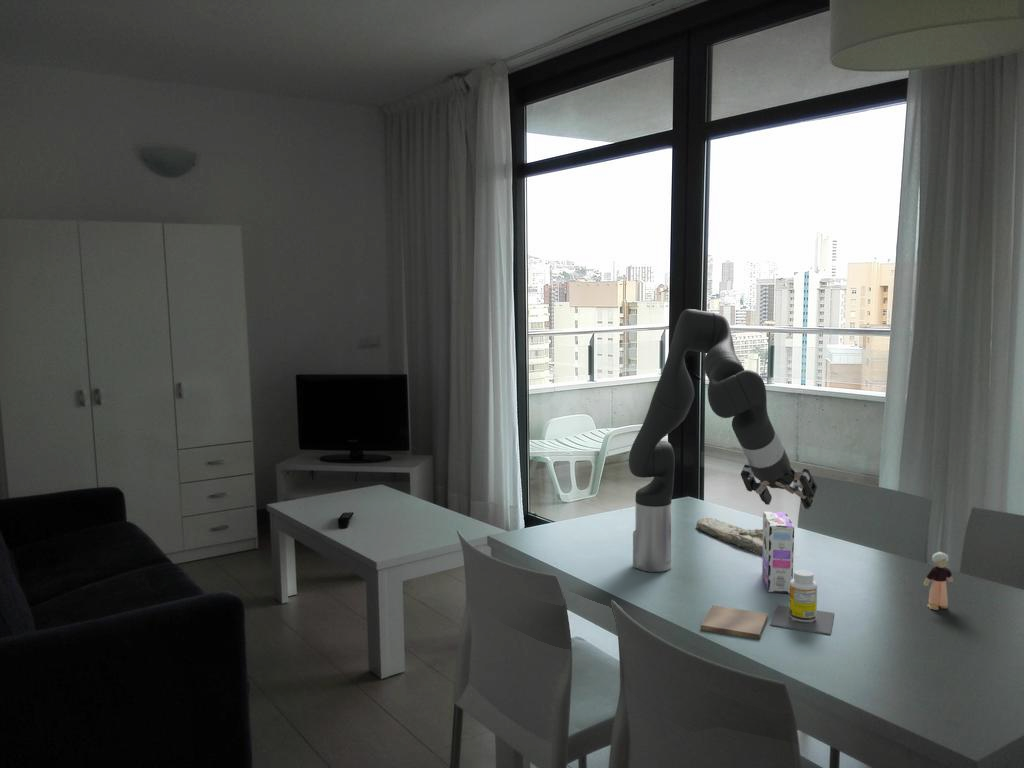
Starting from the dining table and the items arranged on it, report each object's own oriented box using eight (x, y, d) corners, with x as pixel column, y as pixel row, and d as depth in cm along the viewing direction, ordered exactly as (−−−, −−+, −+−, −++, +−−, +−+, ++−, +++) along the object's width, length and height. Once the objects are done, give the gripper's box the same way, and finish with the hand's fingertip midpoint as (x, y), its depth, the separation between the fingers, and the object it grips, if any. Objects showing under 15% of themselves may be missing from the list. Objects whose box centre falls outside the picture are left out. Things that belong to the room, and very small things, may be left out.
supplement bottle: (794, 611, 176) (795, 566, 175) (820, 617, 172) (821, 571, 171) (785, 619, 172) (786, 573, 171) (810, 625, 168) (812, 578, 167)
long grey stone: (713, 529, 247) (688, 535, 243) (712, 512, 247) (686, 518, 242) (798, 554, 216) (771, 561, 211) (797, 535, 215) (769, 542, 211)
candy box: (793, 594, 187) (795, 526, 185) (767, 593, 188) (768, 525, 186) (785, 574, 200) (787, 511, 199) (761, 573, 202) (762, 510, 200)
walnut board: (700, 629, 168) (700, 625, 168) (712, 609, 178) (712, 605, 178) (759, 639, 162) (759, 634, 162) (767, 618, 173) (767, 613, 173)
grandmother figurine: (935, 612, 175) (938, 557, 174) (919, 607, 178) (922, 552, 177) (957, 606, 178) (960, 551, 177) (941, 600, 182) (944, 547, 181)
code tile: (770, 625, 169) (770, 624, 169) (777, 605, 180) (777, 604, 180) (830, 635, 164) (830, 633, 164) (834, 614, 175) (834, 612, 175)
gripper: (805, 439, 154) (827, 492, 163) (737, 436, 164) (761, 486, 172) (793, 469, 150) (817, 522, 159) (724, 464, 160) (750, 513, 168)
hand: (788, 503), depth 166 cm, fingers open, 8 cm apart
